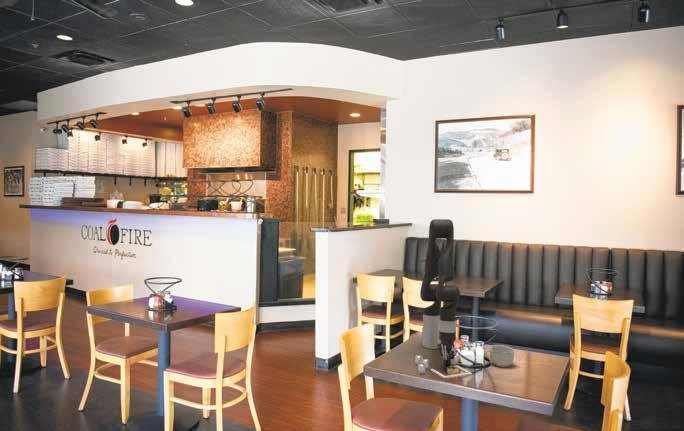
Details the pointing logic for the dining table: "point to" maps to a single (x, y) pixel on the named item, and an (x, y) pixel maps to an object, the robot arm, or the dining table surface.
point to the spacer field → (424, 363)
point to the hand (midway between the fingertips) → (447, 367)
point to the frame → (453, 375)
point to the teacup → (500, 355)
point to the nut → (452, 370)
